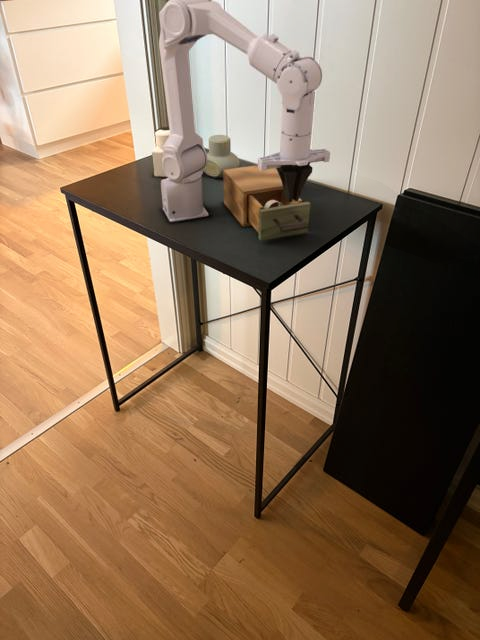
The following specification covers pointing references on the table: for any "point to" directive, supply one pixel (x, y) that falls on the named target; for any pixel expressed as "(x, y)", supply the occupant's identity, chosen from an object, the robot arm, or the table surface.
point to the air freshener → (220, 156)
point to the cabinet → (247, 188)
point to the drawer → (277, 215)
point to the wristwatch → (271, 204)
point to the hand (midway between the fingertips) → (291, 199)
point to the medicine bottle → (159, 150)
